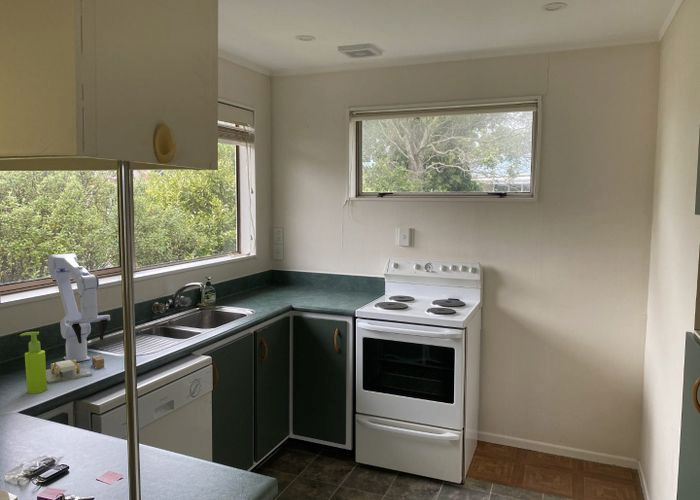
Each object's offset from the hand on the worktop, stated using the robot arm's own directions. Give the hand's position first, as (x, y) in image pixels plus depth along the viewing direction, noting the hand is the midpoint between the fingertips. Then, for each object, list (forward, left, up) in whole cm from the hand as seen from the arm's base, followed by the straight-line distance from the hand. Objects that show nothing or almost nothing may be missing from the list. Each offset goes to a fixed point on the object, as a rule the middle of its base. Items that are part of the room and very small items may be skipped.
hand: (90, 341), depth 209 cm
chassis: (+4, -10, -10) cm, 15 cm away
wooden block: (+1, +2, -10) cm, 10 cm away
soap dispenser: (+17, -22, -10) cm, 30 cm away
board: (+4, -10, -8) cm, 13 cm away
